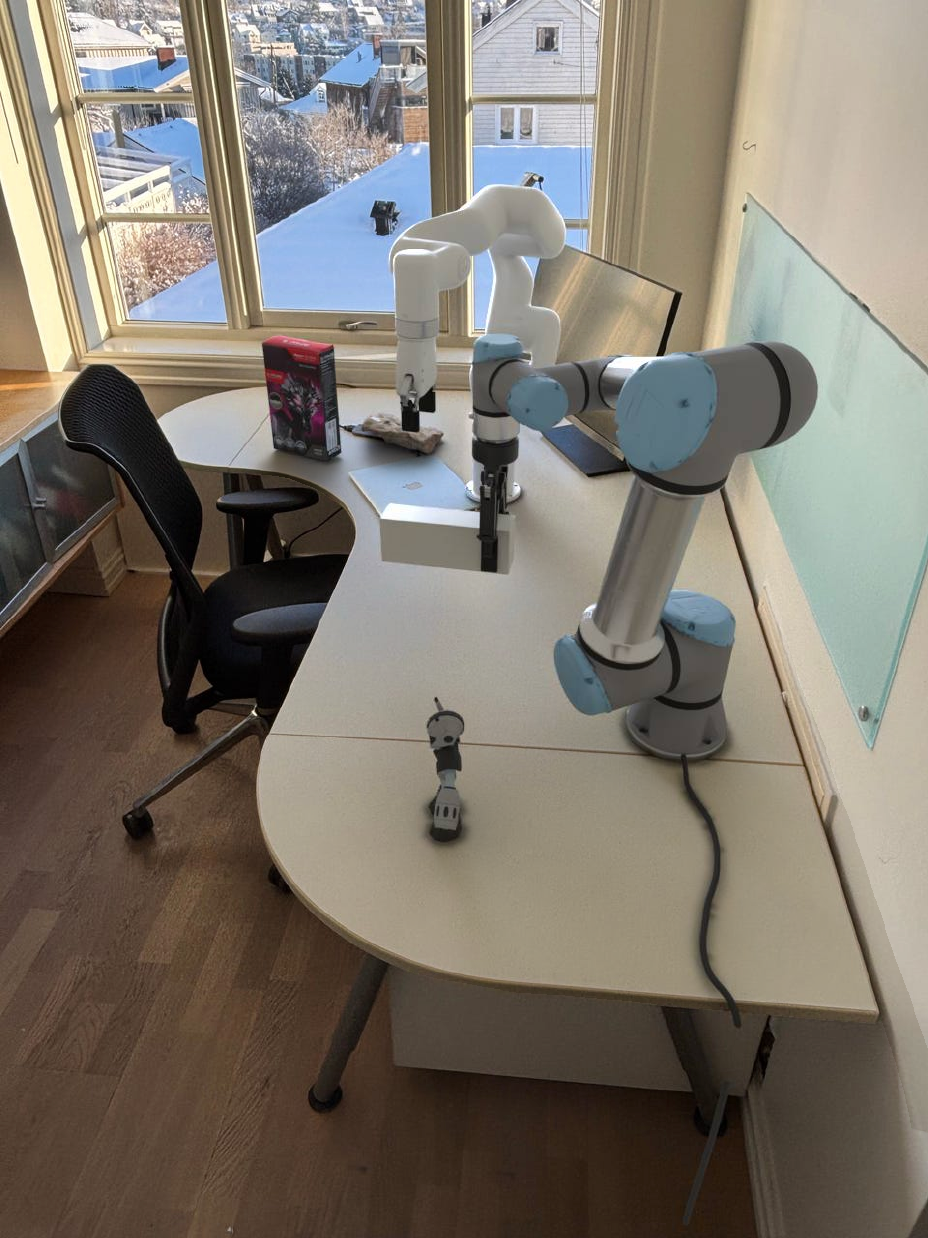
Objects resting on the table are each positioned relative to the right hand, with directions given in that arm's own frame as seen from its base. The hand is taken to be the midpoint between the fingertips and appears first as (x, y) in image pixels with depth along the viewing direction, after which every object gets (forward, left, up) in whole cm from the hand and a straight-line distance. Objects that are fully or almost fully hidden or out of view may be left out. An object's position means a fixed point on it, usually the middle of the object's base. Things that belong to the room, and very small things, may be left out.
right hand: (492, 561), depth 159 cm
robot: (-48, -6, -14) cm, 50 cm away
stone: (+74, +42, -14) cm, 86 cm away
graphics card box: (+62, +62, -13) cm, 89 cm away
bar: (0, +8, -1) cm, 8 cm away
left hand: (+18, +19, +17) cm, 31 cm away
